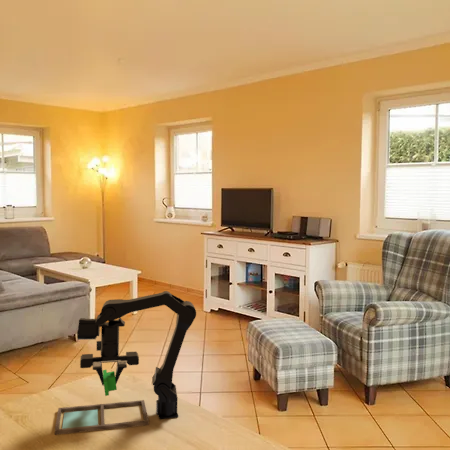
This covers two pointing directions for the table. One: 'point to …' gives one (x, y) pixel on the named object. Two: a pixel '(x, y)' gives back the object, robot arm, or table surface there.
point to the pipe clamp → (109, 381)
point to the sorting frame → (94, 418)
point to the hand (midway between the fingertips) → (109, 384)
